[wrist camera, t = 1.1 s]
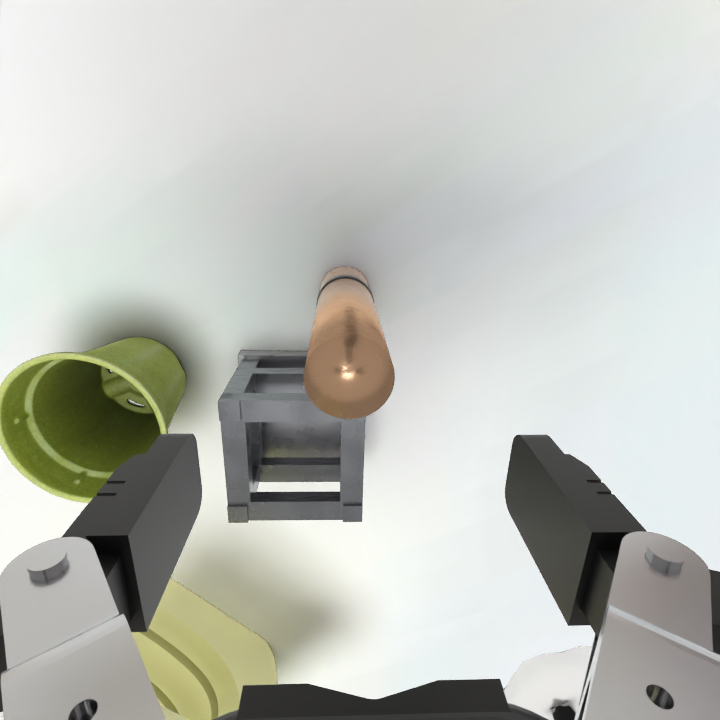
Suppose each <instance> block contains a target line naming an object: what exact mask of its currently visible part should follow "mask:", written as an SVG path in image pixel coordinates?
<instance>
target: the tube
mask: <svg viewBox="0 0 720 720" xmlns="http://www.w3.org/2000/svg"><path fill="white" fill-rule="evenodd" d="M394 379H395V376H394V368H393V364H392V361H391V358H390V354H389V351H388V348H387V345H386V341H385V338H384V335H383V332H382V328H381V325H380V322H379V318H378V315H377V312H376V309H375V305H374V299H373V296H372V293H371V290H370V288H369V286H368V283H367V280H366V278H365V277H364V276H363V274H362V273H361V272H359V271H358V270H356V269H354V268H351V267H338V268H335V269H333V270H331V271H330V272H329V273H328V274H327V275H326V276H325V277H324V279H323V281H322V284H321V288H320V292H319V294H318V299H317V308H316V314H315V319H314V324H313V329H312V334H311V339H310V344H309V349H308V354H307V359H306V364H305V369H304V386H305V390H306V392H307V395H308V396H309V398H310V400H311V401H312V402H313V404H314V405H315V406H316V407H317V408H319V409H320V410H321V411H323V412H324V413H326V414H328V415H330V416H333V417H336V418H341V419H356V418H361V417H364V416H367V415H369V414H371V413H373V412H375V411H376V410H378V409H379V408H380V407H381V406H382V405H383V404H384V403H385V402H386V401H387V399H388V398H389V396H390V394H391V392H392V389H393V386H394Z"/></svg>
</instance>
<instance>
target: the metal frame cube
mask: <svg viewBox="0 0 720 720" xmlns="http://www.w3.org/2000/svg"><path fill="white" fill-rule="evenodd" d="M307 354H308V351H240V353H239V354H238V363H239V366H238V368H237V369H236V371H235V373H234V375H233V376H232V378H231V380H230V382H229V383H228V385H227V387H226V388H225V390H224V392H223V394H222V395H221V397H220V399H219V401H218V409H219V420H220V421H221V432H222V443H223V454H224V465H225V476H226V487H227V499H228V506H227V509H228V520H229V523H245V522H248V521H249V520H343V522H362V498H363V468H364V437H365V416H364V417H361V418H356V419H341V418H336V417H333V416H330V415H328V414H326V413H324V412H323V411H321V410H320V409H319V408H317V407H316V406H315V405H314V404H313V402H312V401H311V400H310V398H309V396H308V395H307V392H306V390H305V386H304V369H305V364H306V359H307ZM259 482H340V492H257V488H258V485H259Z"/></svg>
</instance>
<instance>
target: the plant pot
mask: <svg viewBox="0 0 720 720" xmlns="http://www.w3.org/2000/svg"><path fill="white" fill-rule="evenodd" d="M108 369H110V370H112V371H113V372H112V373H109V371H108ZM185 385H186V377H185V372H184V370H183V369H182V367H181V365H180V363H179V361H178V359H177V357H176V356H175V354H174V353H173V352H172V351H171V350H170V349H169V348H167V347H166V346H165V345H163V344H161V343H159V342H157V341H155V340H152V339H148V338H143V337H131V338H126V339H122V340H119V341H116V342H113V343H110V344H107V345H105V346H102V347H99V348H96V349H93V350H90V351H86V352H83V353H74V352H59V353H50V354H46V355H41V356H39V357H36V358H33V359H31V360H28V361H26V362H24V363H22V364H21V365H19V366H18V367H17V368H15V369H14V370H13V371H12V372H11V373H10V374H9V375H8V376H7V377H6V378H5V379H4V381H3V382H2V384H1V386H0V445H1V447H2V449H3V451H4V453H5V454H6V456H7V457H8V459H9V460H10V462H11V463H12V465H13V466H15V468H16V469H17V470H18V471H19V472H20V473H21V474H22V475H23V476H24V477H26V478H27V479H28V480H30V481H31V482H32V483H34V484H35V485H37V486H38V487H40V488H42V489H44V490H45V491H47V492H49V493H51V494H53V495H56V496H58V497H61V498H64V499H68V500H71V501H76V502H82V503H89V502H90V501H91V500H92V499H93V497H94V496H97V492H98V491H99V490H100V489H101V487H102V486H103V485H104V484H106V483H107V480H108V479H109V477H110V476H111V475H112V474H113V472H114V471H115V470H116V468H117V467H118V466H120V465H121V464H123V463H124V462H126V461H127V460H129V459H130V458H132V457H133V456H135V455H136V454H146V453H147V451H148V450H149V449H150V447H151V446H152V445H153V443H154V442H155V440H156V439H157V438H158V436H159V435H161V434H168V430H167V429H168V427H169V425H170V423H171V420H172V418H173V416H174V413H175V411H176V409H177V406H178V404H179V402H180V400H181V398H182V396H183V393H184V390H185ZM127 399H130V400H132V401H134V402H135V403H139V404H142V405H145V407H143V408H141V407H137V406H134V405H132V404H129V403H128V402H127Z"/></svg>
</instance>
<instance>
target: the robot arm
mask: <svg viewBox="0 0 720 720" xmlns="http://www.w3.org/2000/svg"><path fill="white" fill-rule="evenodd" d="M505 498H506V504H507V508H508V511H509V513H510V515H511V517H512V519H513V521H514V522H515V524H516V526H517V528H518V530H519V532H520V534H521V536H522V538H523V540H524V542H525V544H526V545H527V547H528V549H529V551H530V553H531V555H532V557H533V559H534V561H535V563H536V565H537V567H538V568H539V570H540V572H541V574H542V576H543V578H544V580H545V582H546V584H547V586H548V588H549V589H550V591H551V593H552V595H553V597H554V599H555V601H556V603H557V605H558V607H559V609H560V611H561V612H562V614H563V616H564V618H565V620H566V622H567V624H568V626H570V625H591V627H592V629H593V630H594V632H595V637H594V640H593V644H592V648H591V652H590V656H589V660H588V665H587V669H586V673H585V677H584V682H583V686H582V690H581V694H580V699H579V703H578V707H577V711H576V715H575V720H720V572H718V571H713V570H709V569H708V567H707V565H706V564H705V562H704V561H703V560H702V559H701V558H700V557H699V556H698V555H697V554H696V553H695V552H694V551H692V550H691V549H689V548H688V547H687V546H685V545H683V544H682V543H680V542H678V541H676V540H674V539H671V538H669V537H666V536H663V535H660V534H657V533H652V532H647V531H646V530H645V529H644V528H643V527H642V526H641V524H640V523H639V522H638V521H637V520H636V519H635V518H634V517H633V515H632V514H631V513H630V512H629V511H628V510H627V509H626V508H625V507H624V505H623V504H622V503H621V502H620V501H619V500H618V499H617V498H616V496H615V495H612V494H611V491H610V490H609V489H608V488H607V486H606V485H605V484H604V483H601V480H600V479H599V477H598V476H597V475H596V474H595V473H594V472H593V471H592V470H591V468H590V467H589V466H587V465H586V464H584V463H583V462H581V461H579V460H578V459H576V458H575V457H573V456H572V455H570V454H564V453H563V452H562V451H561V450H560V448H559V447H558V446H557V445H556V444H555V442H554V441H553V440H552V439H551V438H550V437H549V436H548V435H517V436H515V438H514V440H513V443H512V449H511V455H510V461H509V468H508V474H507V480H506V486H505ZM201 499H202V485H201V476H200V468H199V459H198V450H197V442H196V438H195V436H194V435H193V434H161V435H159V436H158V438H157V439H156V440H155V442H154V443H153V445H152V446H151V447H150V449H149V450H148V451H147V453H146V454H136V455H135V456H133V457H132V458H130V459H129V460H127V461H126V462H124V463H123V464H121V465H120V466H118V467H117V468H116V470H115V471H114V472H113V474H112V475H111V476H110V477H109V479H108V480H107V483H106V484H104V485H103V486H102V487H101V489H100V490H99V491H98V492H97V496H94V497H93V499H92V500H91V501H90V502H89V504H88V505H87V506H86V507H85V509H84V510H83V511H82V512H81V514H80V515H79V516H78V517H77V519H76V520H75V521H74V522H73V524H72V525H71V526H70V527H69V529H68V530H67V531H66V532H65V534H64V535H63V536H62V537H61V538H57V539H53V540H49V541H46V542H43V543H41V544H38V545H36V546H34V547H32V548H30V549H28V550H27V551H25V552H23V553H22V554H20V555H19V556H18V557H16V558H15V559H14V560H13V561H12V562H11V563H9V564H8V566H7V567H6V568H5V569H4V571H3V572H2V574H1V576H0V712H2V711H3V714H4V720H166V719H165V717H164V714H163V712H162V709H161V707H160V704H159V701H158V699H157V696H156V694H155V691H154V689H153V686H152V684H151V681H150V678H149V676H148V673H147V671H146V668H145V666H144V663H143V661H142V658H141V655H140V653H139V650H138V648H137V645H136V643H135V640H134V638H133V635H132V632H147V630H148V628H149V626H150V623H151V621H152V619H153V616H154V614H155V612H156V609H157V607H158V605H159V603H160V600H161V598H162V596H163V593H164V591H165V589H166V586H167V584H168V582H169V580H170V577H171V575H172V573H173V570H174V568H175V566H176V564H177V561H178V559H179V557H180V554H181V552H182V550H183V547H184V545H185V543H186V541H187V538H188V536H189V534H190V531H191V529H192V527H193V524H194V522H195V520H196V518H197V515H198V513H199V510H200V505H201ZM213 720H548V719H546V718H544V717H542V716H540V715H538V714H537V713H535V712H533V711H530V710H528V709H525V708H522V707H520V706H517V705H514V704H510V703H507V700H506V697H505V693H504V690H503V687H502V684H501V681H500V679H479V680H438V681H435V682H432V683H428V684H425V685H422V686H419V687H416V688H413V689H409V690H406V691H403V692H400V693H397V694H394V695H390V696H387V697H384V698H381V699H366V698H362V697H358V696H354V695H350V694H346V693H342V692H338V691H334V690H330V689H326V688H322V687H318V686H314V685H310V684H277V685H243V688H242V693H241V699H240V704H239V709H238V710H235V711H232V712H229V713H226V714H224V715H222V716H220V717H217V718H215V719H213Z"/></svg>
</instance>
